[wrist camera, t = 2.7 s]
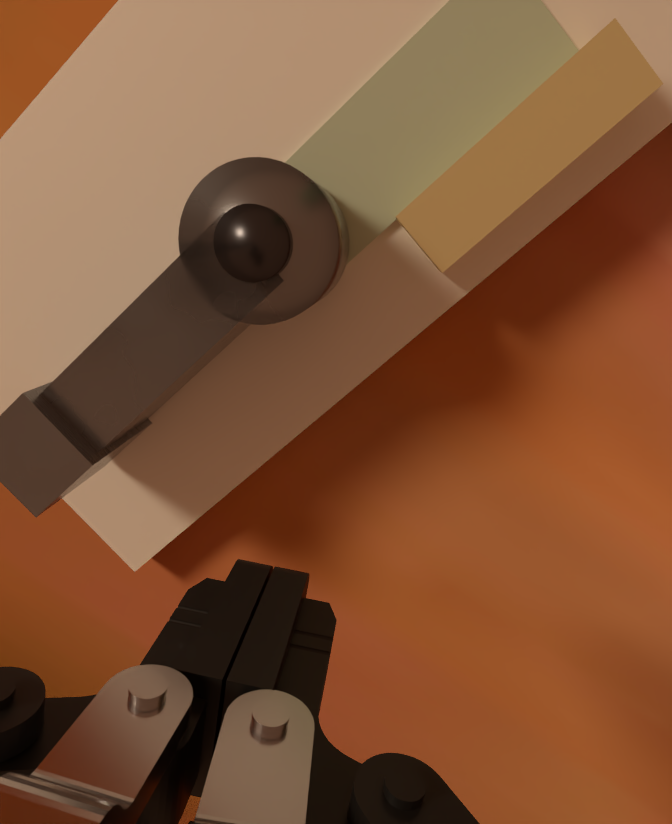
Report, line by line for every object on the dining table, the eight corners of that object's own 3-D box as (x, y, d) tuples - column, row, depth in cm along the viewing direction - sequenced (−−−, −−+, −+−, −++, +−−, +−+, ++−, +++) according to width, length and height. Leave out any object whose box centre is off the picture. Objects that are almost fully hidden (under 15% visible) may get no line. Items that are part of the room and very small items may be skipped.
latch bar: (287, 143, 18) (253, 113, 14) (376, 250, 19) (370, 251, 15) (35, 394, 21) (-55, 430, 17) (119, 481, 22) (52, 536, 17)
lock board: (147, 556, 24) (112, 598, 21) (-108, 295, 22) (-184, 302, 19) (768, 34, 18) (840, -6, 15) (478, -382, 16) (495, -518, 13)
